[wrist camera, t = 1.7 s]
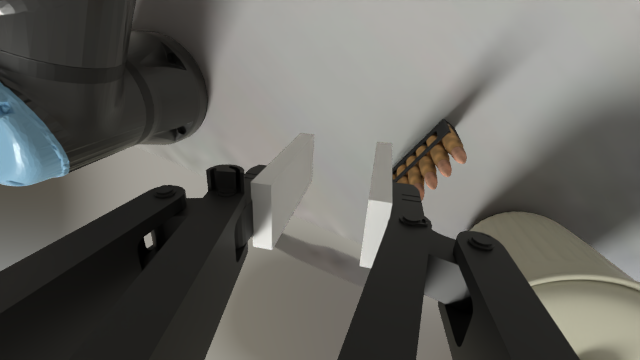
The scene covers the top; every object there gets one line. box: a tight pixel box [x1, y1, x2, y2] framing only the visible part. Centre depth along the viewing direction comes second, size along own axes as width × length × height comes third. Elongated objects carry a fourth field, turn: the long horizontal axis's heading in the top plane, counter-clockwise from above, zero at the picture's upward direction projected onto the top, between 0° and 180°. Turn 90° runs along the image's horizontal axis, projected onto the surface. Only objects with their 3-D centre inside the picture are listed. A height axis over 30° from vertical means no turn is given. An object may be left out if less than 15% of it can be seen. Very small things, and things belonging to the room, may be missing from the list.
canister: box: [469, 211, 640, 360], centre depth 33 cm, size 18×18×21 cm
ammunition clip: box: [392, 119, 467, 201], centre depth 35 cm, size 11×2×12 cm, turn 143°
